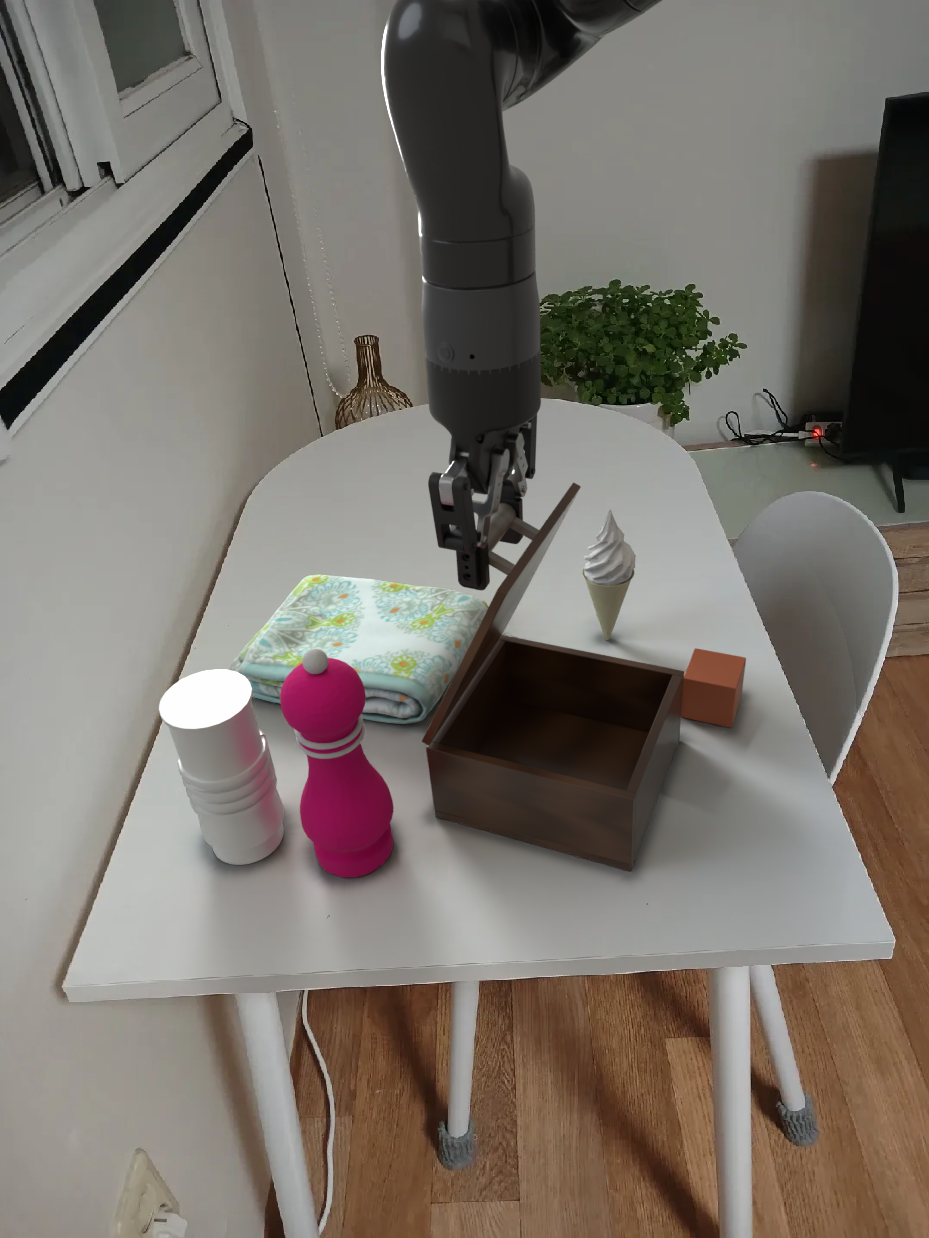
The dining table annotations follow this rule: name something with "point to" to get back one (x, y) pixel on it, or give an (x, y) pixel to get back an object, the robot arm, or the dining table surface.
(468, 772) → the chest
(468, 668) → the lid
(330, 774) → the pepper mill
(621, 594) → the ice cream cone
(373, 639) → the towel
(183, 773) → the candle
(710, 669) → the block
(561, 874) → the dining table surface
